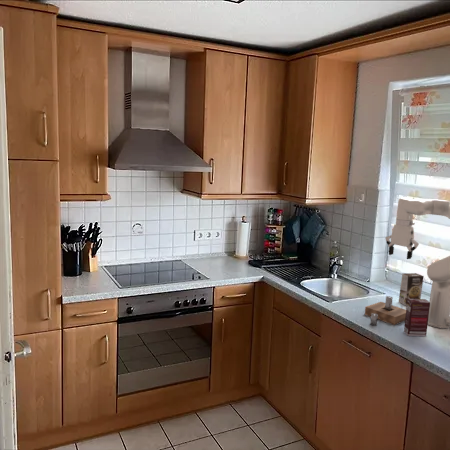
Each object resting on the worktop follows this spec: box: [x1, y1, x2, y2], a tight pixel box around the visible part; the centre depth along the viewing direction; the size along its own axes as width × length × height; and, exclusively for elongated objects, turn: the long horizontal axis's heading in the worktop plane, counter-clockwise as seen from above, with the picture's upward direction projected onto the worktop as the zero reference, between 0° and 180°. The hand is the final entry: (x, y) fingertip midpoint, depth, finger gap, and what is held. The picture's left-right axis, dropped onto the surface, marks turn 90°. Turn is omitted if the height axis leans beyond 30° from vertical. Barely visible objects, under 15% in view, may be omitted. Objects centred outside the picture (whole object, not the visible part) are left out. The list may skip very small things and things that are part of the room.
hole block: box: [364, 301, 406, 326], centre depth 229 cm, size 16×14×4 cm
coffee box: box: [398, 272, 425, 307], centre depth 250 cm, size 9×6×16 cm
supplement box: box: [403, 298, 430, 337], centre depth 208 cm, size 9×5×16 cm, turn 92°
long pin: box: [384, 296, 394, 311], centre depth 229 cm, size 3×3×10 cm
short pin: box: [369, 313, 379, 327], centre depth 218 cm, size 3×3×5 cm
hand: (399, 256), depth 234 cm, fingers open, 9 cm apart
